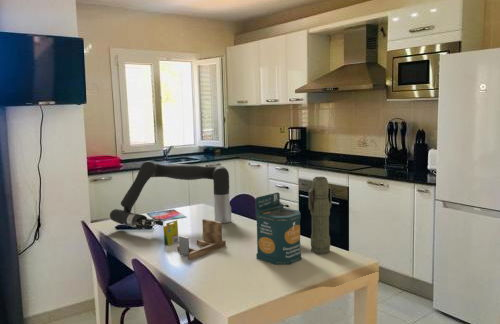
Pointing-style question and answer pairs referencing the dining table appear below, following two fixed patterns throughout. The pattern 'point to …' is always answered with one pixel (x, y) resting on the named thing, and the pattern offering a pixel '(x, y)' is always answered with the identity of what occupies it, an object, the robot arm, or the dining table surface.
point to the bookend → (184, 245)
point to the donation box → (277, 231)
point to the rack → (208, 239)
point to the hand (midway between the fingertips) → (156, 225)
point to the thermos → (320, 214)
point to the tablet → (166, 215)
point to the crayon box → (171, 233)
